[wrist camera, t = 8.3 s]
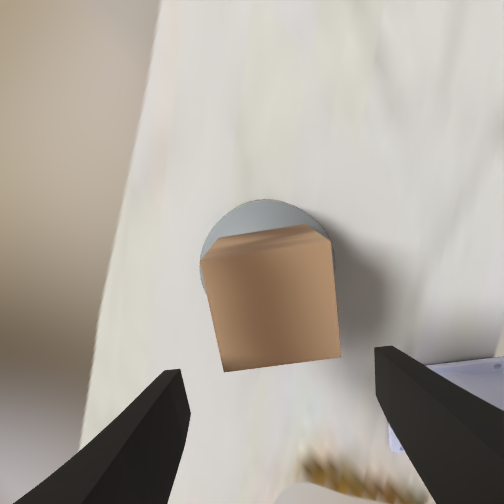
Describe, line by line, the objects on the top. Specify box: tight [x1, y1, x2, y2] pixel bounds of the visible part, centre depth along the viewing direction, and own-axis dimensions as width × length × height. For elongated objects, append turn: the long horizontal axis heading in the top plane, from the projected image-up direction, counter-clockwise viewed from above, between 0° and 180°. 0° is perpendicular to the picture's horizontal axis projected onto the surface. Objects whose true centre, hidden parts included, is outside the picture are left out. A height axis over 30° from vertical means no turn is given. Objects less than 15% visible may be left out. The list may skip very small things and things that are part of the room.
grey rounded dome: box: [200, 199, 335, 295], centre depth 16 cm, size 8×8×3 cm
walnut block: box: [200, 224, 341, 372], centre depth 12 cm, size 5×5×5 cm
